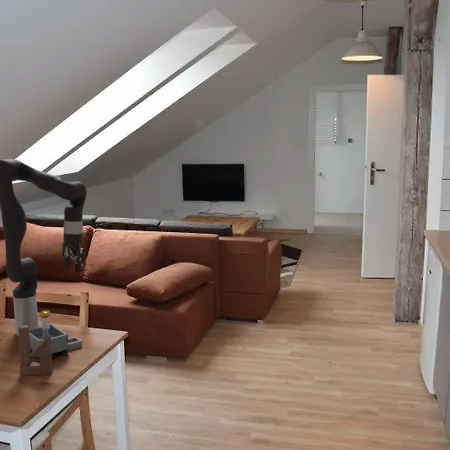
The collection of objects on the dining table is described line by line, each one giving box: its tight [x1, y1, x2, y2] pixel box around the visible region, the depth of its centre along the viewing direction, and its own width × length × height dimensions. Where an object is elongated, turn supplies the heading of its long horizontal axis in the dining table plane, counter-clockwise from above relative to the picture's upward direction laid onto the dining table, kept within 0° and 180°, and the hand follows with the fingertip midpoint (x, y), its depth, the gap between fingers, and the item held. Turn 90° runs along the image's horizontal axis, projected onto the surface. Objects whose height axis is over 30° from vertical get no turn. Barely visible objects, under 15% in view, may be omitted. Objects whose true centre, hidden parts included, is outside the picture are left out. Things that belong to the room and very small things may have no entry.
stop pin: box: [38, 310, 51, 340], centre depth 204 cm, size 4×4×12 cm
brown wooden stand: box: [18, 325, 54, 377], centre depth 187 cm, size 4×11×18 cm, turn 96°
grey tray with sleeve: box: [29, 323, 83, 363], centre depth 207 cm, size 15×19×9 cm
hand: (72, 269), depth 213 cm, fingers open, 8 cm apart
